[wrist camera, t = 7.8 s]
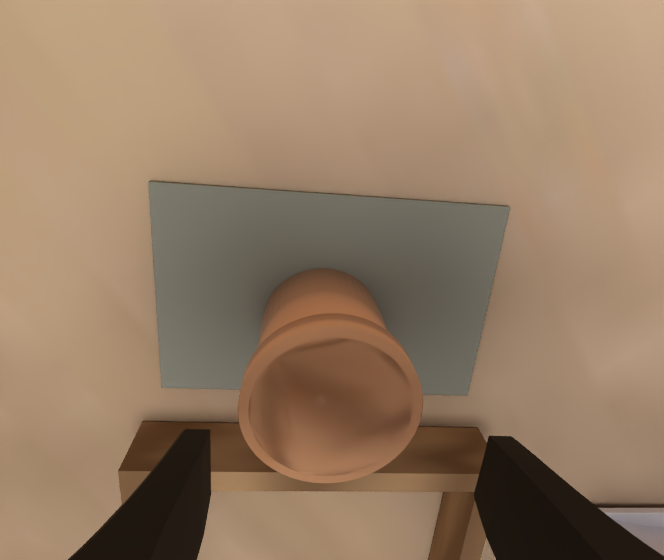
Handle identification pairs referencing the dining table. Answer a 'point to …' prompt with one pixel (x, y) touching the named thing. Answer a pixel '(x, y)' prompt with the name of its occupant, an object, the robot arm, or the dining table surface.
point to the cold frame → (399, 475)
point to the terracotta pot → (327, 382)
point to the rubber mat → (311, 253)
